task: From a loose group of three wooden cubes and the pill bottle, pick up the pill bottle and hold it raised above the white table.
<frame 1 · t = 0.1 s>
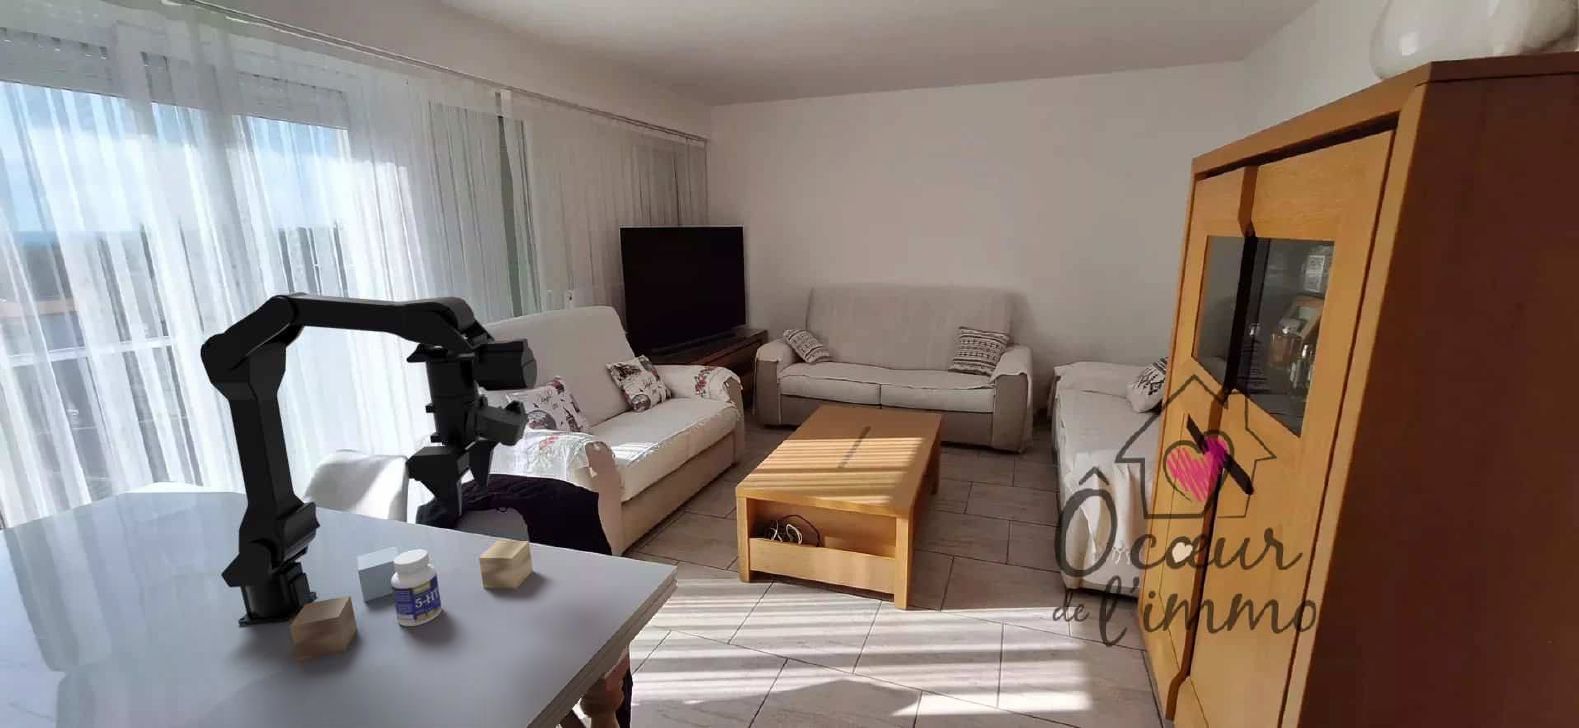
hand: (470, 501, 88), 15 cm above the table, fingers open, 9 cm apart
pill bottle: (420, 616, 87), on the table
walnut block: (328, 645, 81), on the table
oak block: (508, 579, 95), on the table
slate block: (383, 588, 94), on the table
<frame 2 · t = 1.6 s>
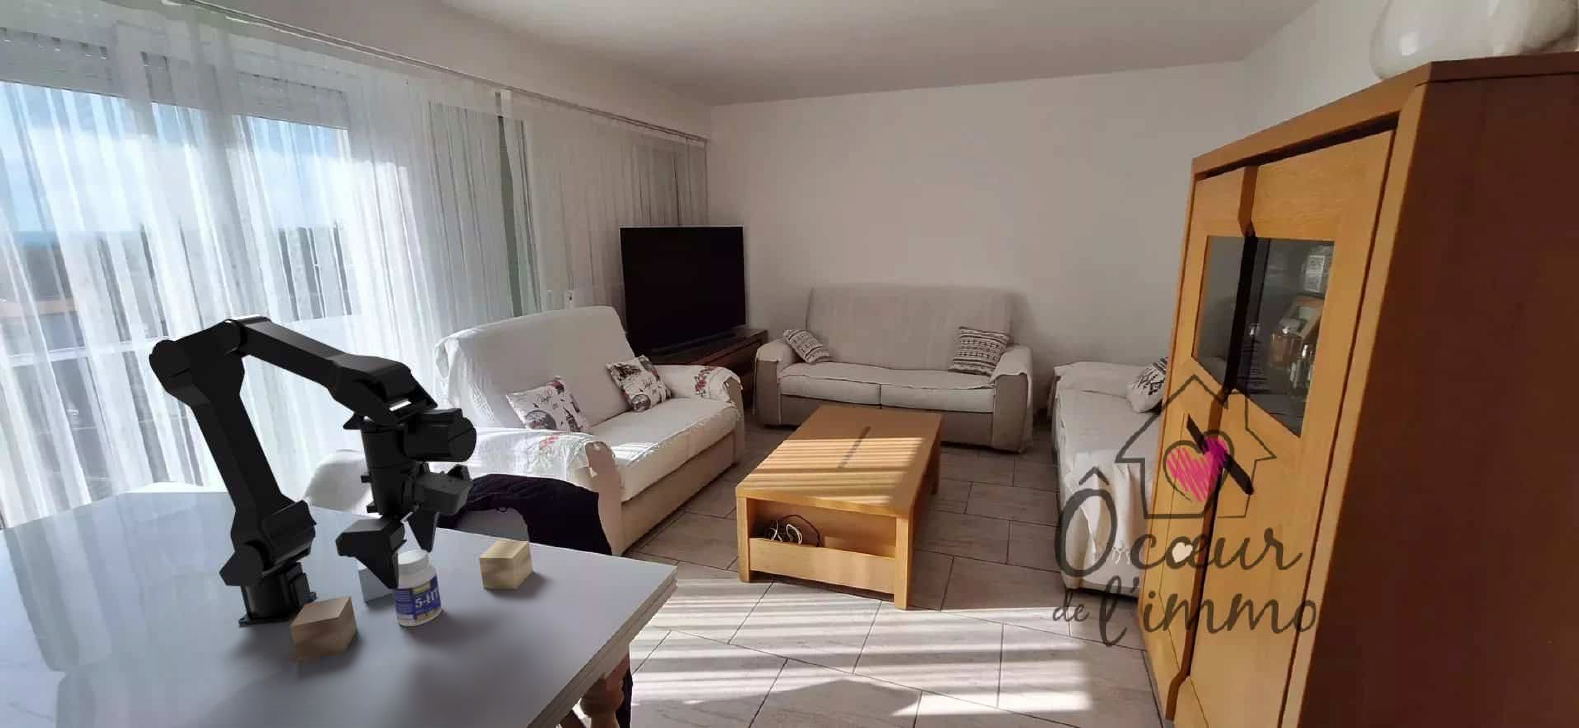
hand: (411, 569, 85), 7 cm above the table, fingers open, 9 cm apart
nothing on the table moved.
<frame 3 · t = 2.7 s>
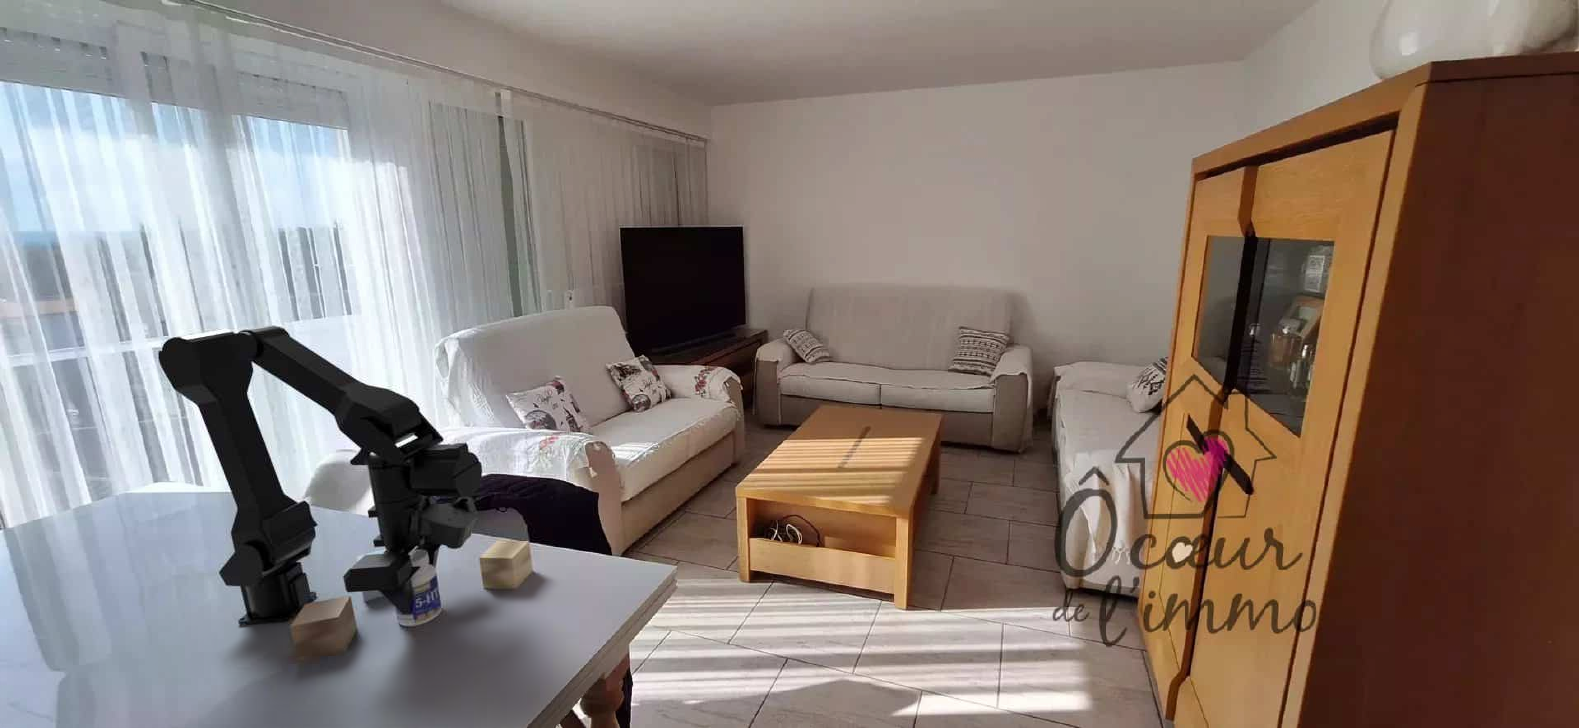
hand: (418, 600, 86), 2 cm above the table, fingers closed on pill bottle, 5 cm apart
pill bottle: (420, 616, 87), on the table, touching gripper
everything else where it was.
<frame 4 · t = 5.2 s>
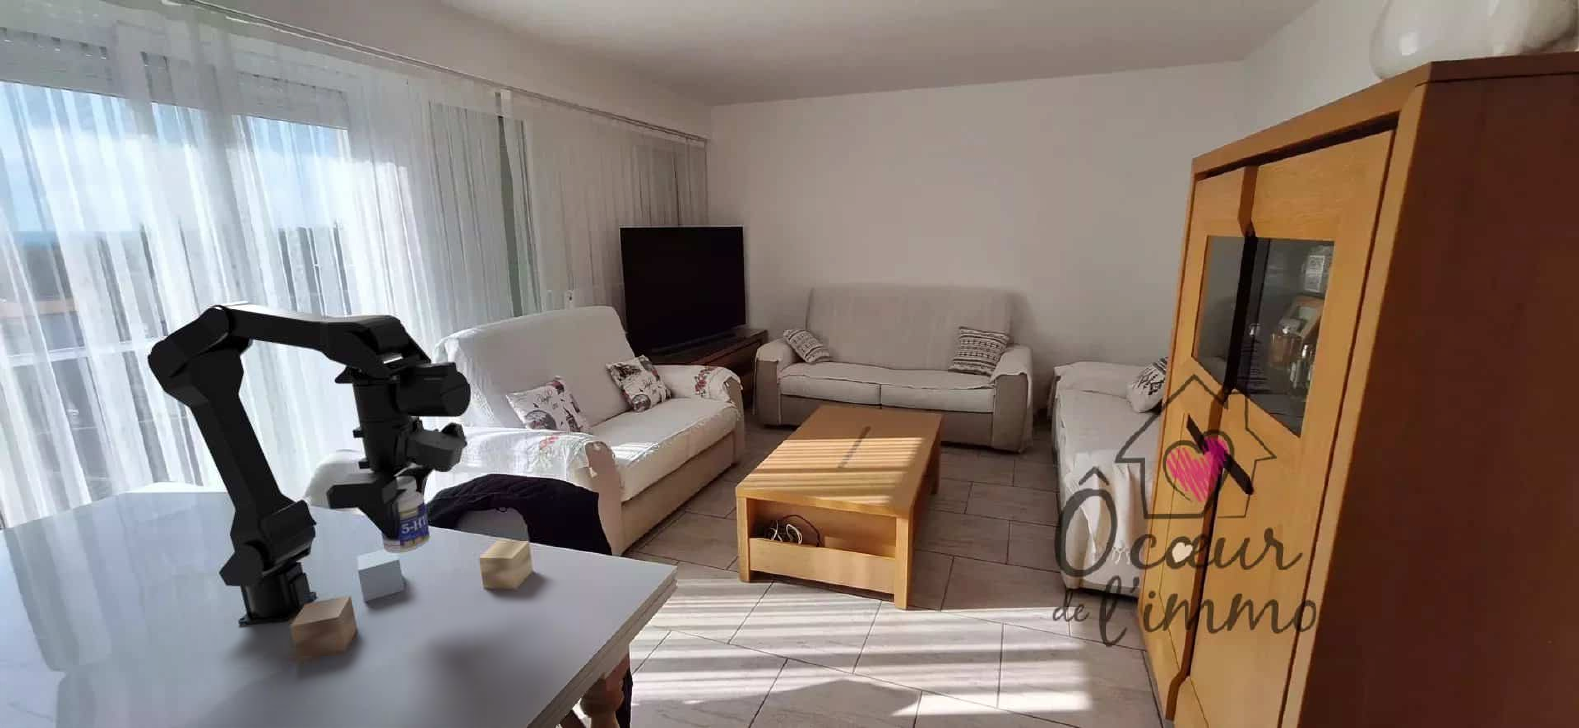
hand: (405, 528, 84), 13 cm above the table, fingers closed on pill bottle, 5 cm apart
pill bottle: (408, 545, 85), point 10 cm above the table, touching gripper
everything else where it was.
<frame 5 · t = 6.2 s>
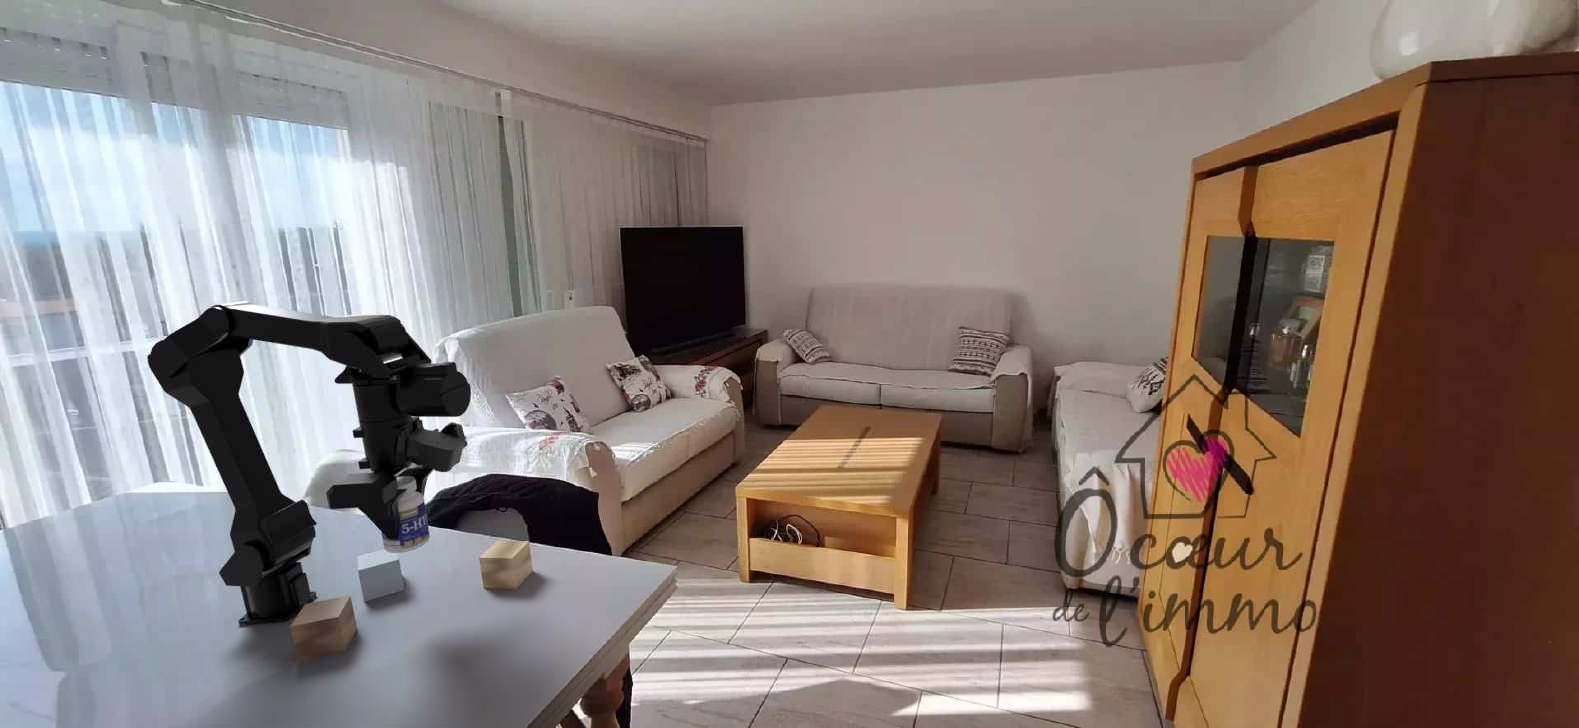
hand: (405, 528, 84), 13 cm above the table, fingers closed on pill bottle, 5 cm apart
pill bottle: (408, 545, 85), point 10 cm above the table, touching gripper
everything else where it was.
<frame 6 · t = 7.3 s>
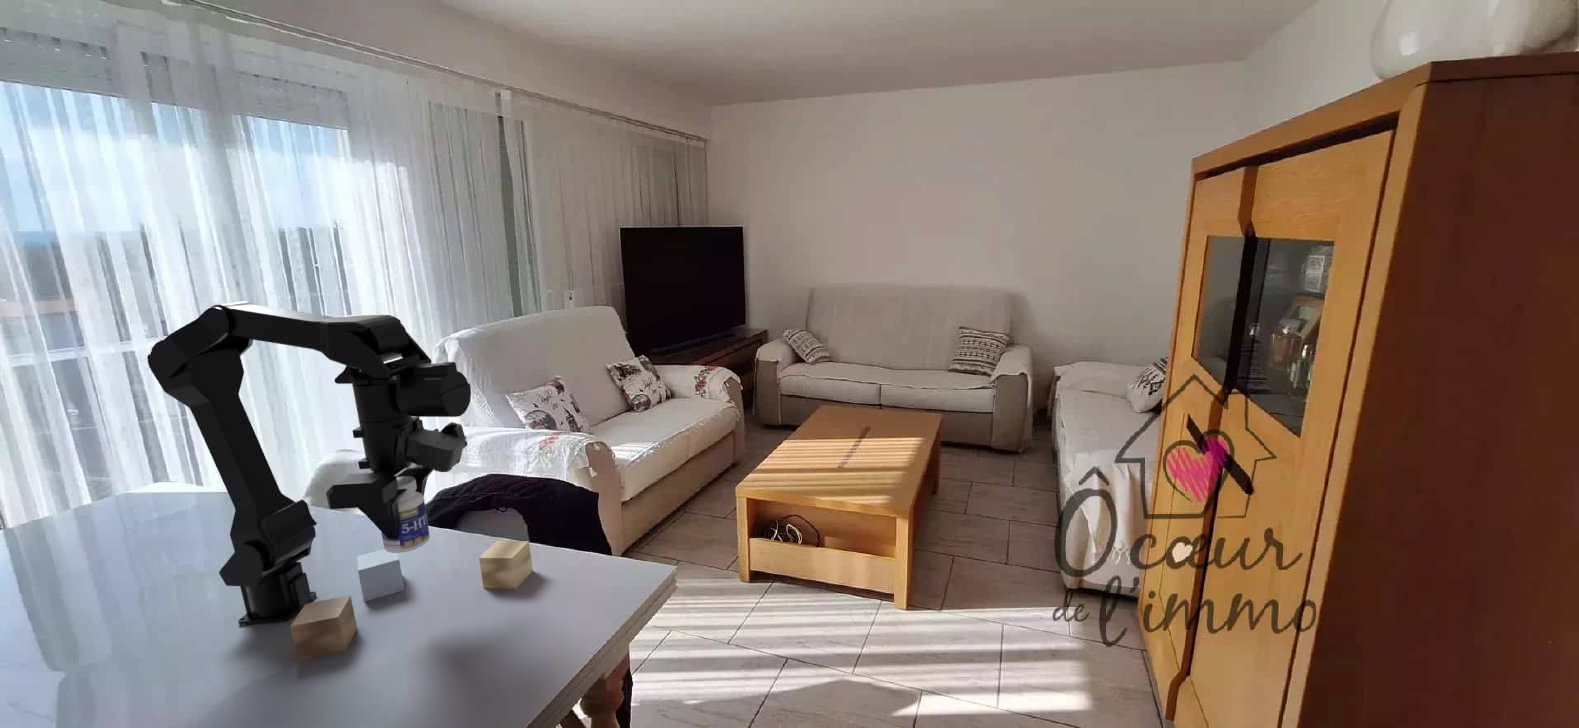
hand: (405, 528, 84), 13 cm above the table, fingers closed on pill bottle, 5 cm apart
pill bottle: (408, 545, 85), point 10 cm above the table, touching gripper
everything else where it was.
at the end: the gripper is holding pill bottle; pill bottle point 10.5 cm above the table; walnut block moved 0.1 cm from its start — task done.
